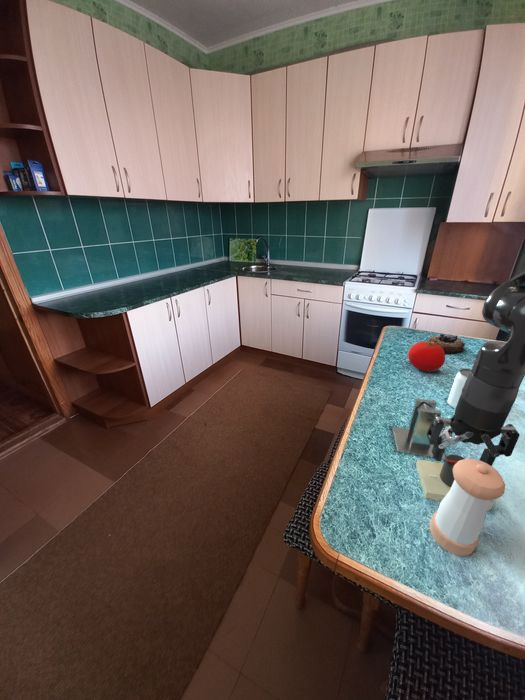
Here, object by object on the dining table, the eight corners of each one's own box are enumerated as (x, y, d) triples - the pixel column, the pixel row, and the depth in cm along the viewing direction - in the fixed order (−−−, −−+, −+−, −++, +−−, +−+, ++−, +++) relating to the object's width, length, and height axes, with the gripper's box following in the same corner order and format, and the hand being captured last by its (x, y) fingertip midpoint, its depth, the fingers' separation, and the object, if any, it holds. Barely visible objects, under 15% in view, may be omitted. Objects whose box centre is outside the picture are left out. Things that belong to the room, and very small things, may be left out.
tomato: (440, 379, 103) (448, 353, 98) (403, 370, 109) (409, 345, 104) (442, 365, 112) (449, 340, 107) (407, 357, 117) (413, 334, 113)
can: (445, 398, 93) (456, 366, 88) (469, 403, 91) (482, 370, 85) (447, 409, 88) (458, 376, 83) (472, 415, 85) (486, 381, 80)
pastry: (467, 352, 121) (471, 339, 118) (442, 355, 119) (446, 342, 116) (447, 341, 131) (450, 329, 128) (423, 344, 128) (427, 332, 126)
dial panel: (471, 477, 66) (475, 467, 65) (488, 514, 59) (493, 504, 57) (414, 467, 69) (417, 458, 68) (423, 501, 61) (427, 491, 60)
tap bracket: (434, 436, 78) (447, 397, 72) (444, 462, 71) (460, 421, 65) (391, 430, 81) (400, 392, 75) (396, 454, 73) (407, 414, 67)
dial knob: (460, 472, 64) (468, 455, 62) (469, 491, 60) (477, 473, 58) (436, 468, 65) (443, 451, 63) (443, 486, 61) (450, 469, 59)
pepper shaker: (482, 557, 52) (525, 484, 43) (443, 561, 51) (478, 488, 43) (455, 517, 58) (487, 447, 49) (420, 521, 58) (446, 450, 49)
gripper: (449, 405, 51) (426, 469, 58) (544, 417, 48) (508, 484, 55) (437, 382, 57) (418, 443, 65) (520, 391, 54) (490, 454, 62)
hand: (459, 461), depth 60 cm, fingers open, 8 cm apart
